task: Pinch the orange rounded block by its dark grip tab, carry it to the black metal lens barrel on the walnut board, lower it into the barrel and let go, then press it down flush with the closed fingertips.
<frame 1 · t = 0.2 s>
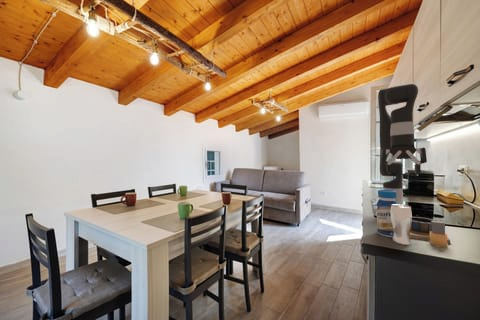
hand: (403, 173, 81), 28 cm above the countertop, tool pointing down, fingers open, 8 cm apart
wooden cutting board: (422, 233, 92), on the countertop
blue and white bottle: (388, 234, 91), on the countertop
beer glass: (401, 242, 82), on the countertop
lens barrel: (422, 229, 92), resting on wooden cutting board
orange rounded block: (438, 244, 79), on the countertop
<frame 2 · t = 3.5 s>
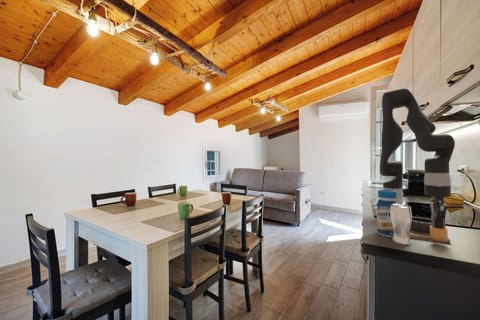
hand: (438, 227, 79), 7 cm above the countertop, tool pointing down, fingers closed on orange rounded block
orange rounded block: (438, 238, 79), point 2 cm above the countertop, touching gripper
everything else where it was.
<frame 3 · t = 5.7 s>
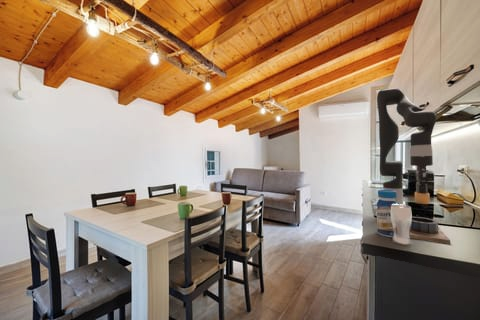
hand: (422, 192, 91), 19 cm above the countertop, tool pointing down, fingers closed on orange rounded block
orange rounded block: (422, 202, 91), point 14 cm above the countertop, touching gripper
everything else where it was.
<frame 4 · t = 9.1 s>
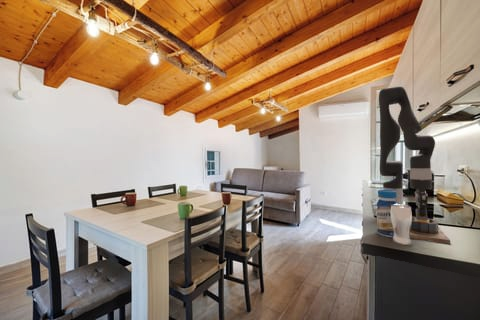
hand: (421, 215, 92), 8 cm above the countertop, tool pointing down, fingers open, 4 cm apart
orange rounded block: (422, 229, 91), point 2 cm above the countertop, touching wooden cutting board
everything else where it was.
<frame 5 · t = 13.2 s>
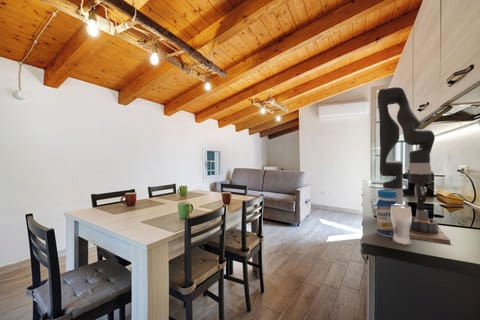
hand: (420, 210, 92), 10 cm above the countertop, tool pointing down, fingers closed
orange rounded block: (422, 229, 91), point 2 cm above the countertop, touching gripper, wooden cutting board
everything else where it was.
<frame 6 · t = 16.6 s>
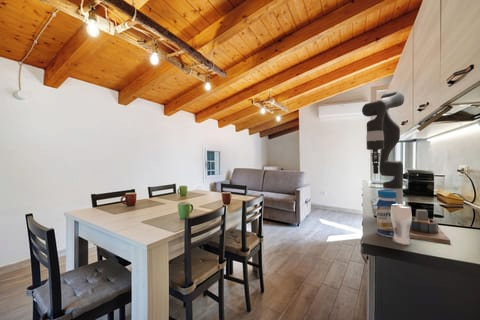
hand: (375, 173, 103), 27 cm above the countertop, tool pointing down, fingers closed
orange rounded block: (422, 229, 91), point 2 cm above the countertop, touching wooden cutting board
everything else where it was.
at the end: orange rounded block 0.1 cm off-centre on the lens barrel, point 0.0 cm above the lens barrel's base; orange rounded block tilted 0°; the gripper is holding nothing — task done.
